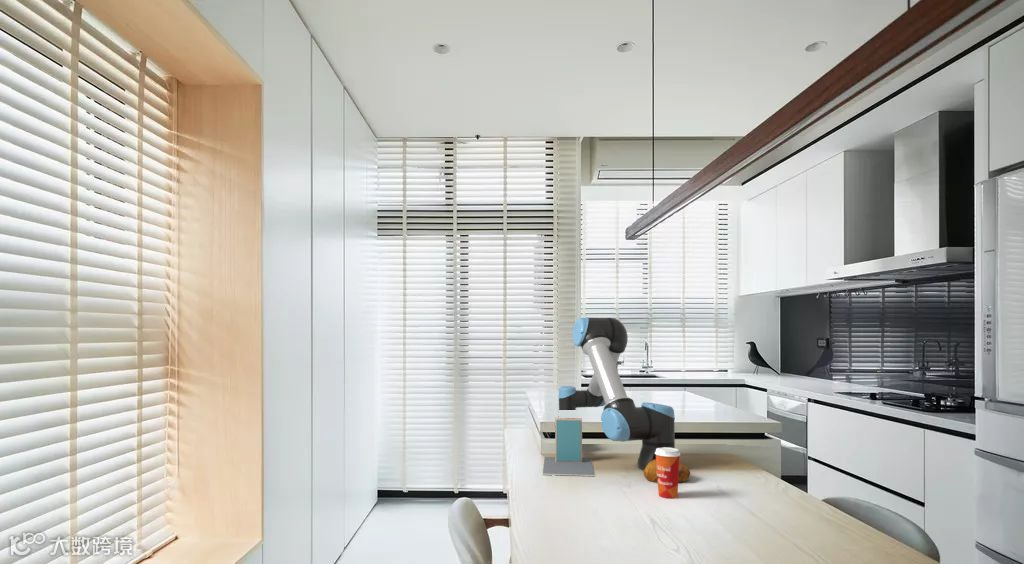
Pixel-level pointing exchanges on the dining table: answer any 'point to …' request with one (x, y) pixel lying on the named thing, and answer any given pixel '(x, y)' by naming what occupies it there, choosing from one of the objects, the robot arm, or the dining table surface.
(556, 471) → the mat
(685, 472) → the croissant
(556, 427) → the tile
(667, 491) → the paper cup
